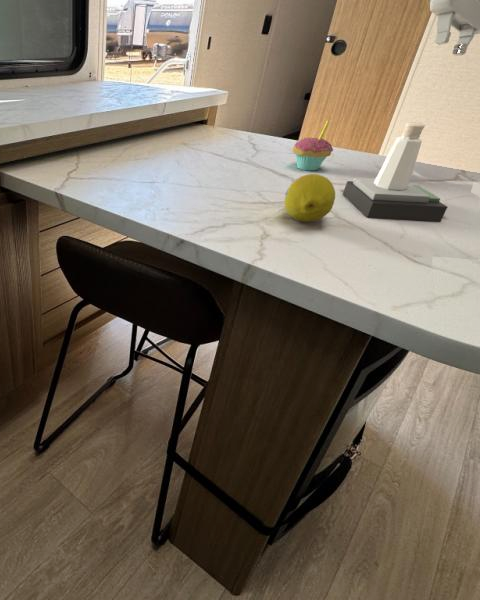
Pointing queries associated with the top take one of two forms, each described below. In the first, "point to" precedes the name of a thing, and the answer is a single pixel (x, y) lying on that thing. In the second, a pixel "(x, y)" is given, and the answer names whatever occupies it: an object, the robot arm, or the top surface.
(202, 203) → the top surface
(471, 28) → the robot arm
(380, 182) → the salt shaker
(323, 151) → the cupcake
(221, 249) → the top surface
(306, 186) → the lemon
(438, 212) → the scale
